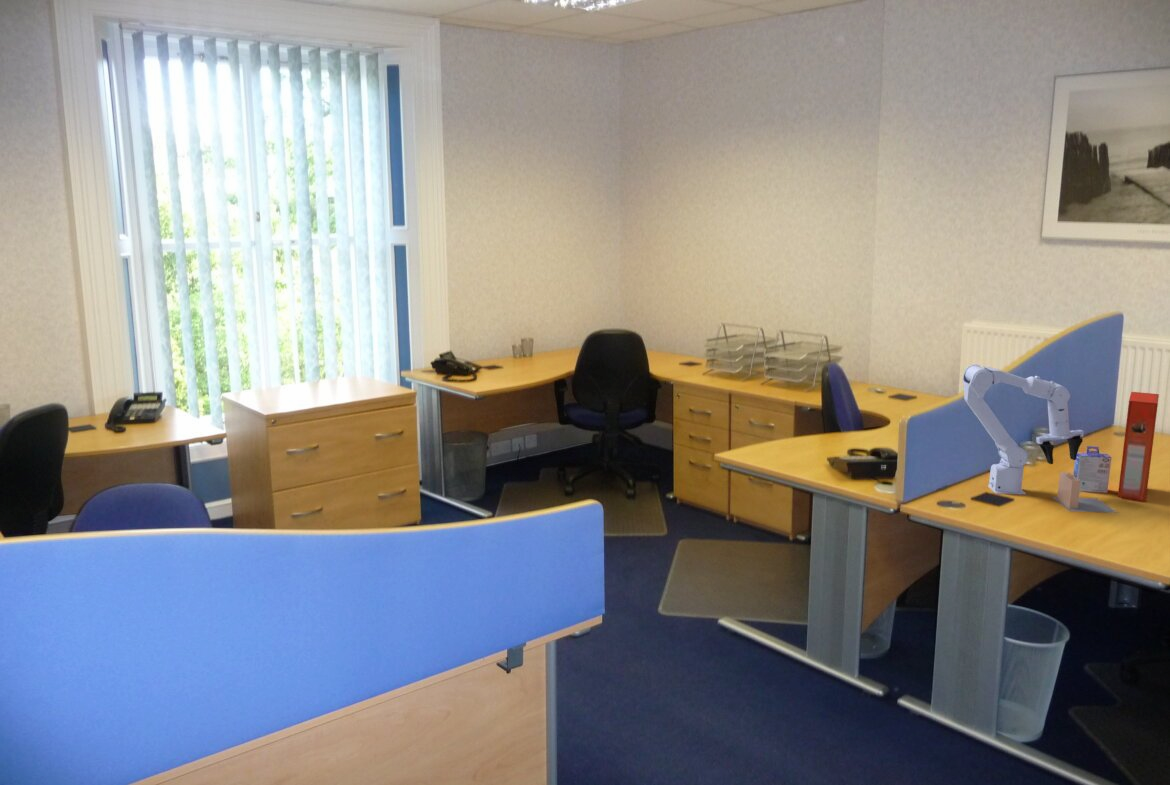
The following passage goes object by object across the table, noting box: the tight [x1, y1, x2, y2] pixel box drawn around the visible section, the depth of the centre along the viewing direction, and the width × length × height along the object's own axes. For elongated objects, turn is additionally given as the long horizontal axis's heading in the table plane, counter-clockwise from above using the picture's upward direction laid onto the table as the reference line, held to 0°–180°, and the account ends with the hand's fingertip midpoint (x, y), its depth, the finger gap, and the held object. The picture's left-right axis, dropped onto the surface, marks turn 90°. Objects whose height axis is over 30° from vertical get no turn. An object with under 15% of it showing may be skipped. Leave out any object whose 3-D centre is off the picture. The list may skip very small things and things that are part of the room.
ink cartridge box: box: [1072, 445, 1112, 494], centre depth 304 cm, size 10×6×14 cm, turn 78°
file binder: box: [1117, 391, 1160, 503], centre depth 299 cm, size 8×17×32 cm, turn 148°
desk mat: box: [1051, 496, 1118, 514], centre depth 290 cm, size 14×14×1 cm
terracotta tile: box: [1056, 471, 1081, 509], centre depth 289 cm, size 2×9×9 cm, turn 175°
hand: (1061, 461), depth 300 cm, fingers open, 7 cm apart
